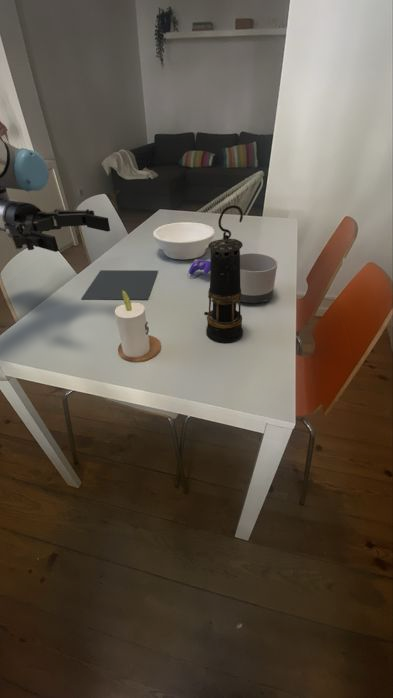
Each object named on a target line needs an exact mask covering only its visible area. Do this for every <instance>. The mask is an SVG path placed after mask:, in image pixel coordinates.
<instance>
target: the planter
mask: <svg viewBox="0 0 393 698" xmlns="http://www.w3.org/2000/svg"><path fill="white" fill-rule="evenodd" d="M277 269H278V261H277V260H276V258H274V257H272V256H270V255H267V254H263V253H257V252H256V253H255V252H250V253H249V252H248V253H247V252H245V253H240V288H241V299H240V302H242V303H247V304H258V303H263V302H267V301H268V300H270V299H271V298H272V297H273V295H274V290H275V282H276V278H277Z"/></svg>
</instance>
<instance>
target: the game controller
mask: <svg viewBox="0 0 393 698" xmlns="http://www.w3.org/2000/svg"><path fill="white" fill-rule="evenodd" d="M210 266H211V258H207V259H206V258H205V259H198V258H195V259H194V261H193V262H192V264H191V265H190V267H189V269H188V271H187V273H188V275H194V274H195V273H196V272H197V271H203V273H201V274H200V275H198V276H196V277H193V278H192V280H194V279H196V278H199V277H200V276H202V275H208V274H210ZM187 278H188V279H189V280H191V278H190V277H189V276H187Z"/></svg>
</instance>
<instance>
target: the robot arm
mask: <svg viewBox="0 0 393 698" xmlns="http://www.w3.org/2000/svg"><path fill="white" fill-rule="evenodd" d="M49 176H50V175H49V167H48V165H47V163H46V161H45V159H44V158H43V156H42V155H41V154H40V153H39V152H37V151H35V150H32V149H28V148H23V147H22V148H19V147H16V146H15V145H12V144H11V143H8V142H6V141H5V140H3V139H0V231H2V232H5V233H6V234H7V237H8V238H11V239H12V241H13V243H14V246H15V248H16V249H17V250H21V249H23V247H24V246H26V248H27V251H33V250H35V247H36V248H41V249H44V250H48V251H50V252H55V253H57V252H59V251H60V249H59V246H58V243H57V239H56V236H55V235H50V234H48V233H47V234H46V233H43V232H50V231H53V230H54V231H55V230H61V229H62V228H64V227H65V228H68V227H82V226H85V227H87V228H89V229H95V230H98V231H104V232H107V233H108V232H110V231H111V228H110V227H111V226H110V221H109V217H105V216H101V215H96V214H95V211H94V210H92V209H88V208H86V210H85V209H84V210H80V209H79V210H75V209H74V210H73V209H72V210H71V209H69V210H67V209H53V211H52V212H51V211H50V212H48V211H42V210H41V209H40V208H39V207H38V206H37V205H35V204H33V203H31V202H27V201H20V200H17V199H11V198H10V196H9V194H8V191H7V189H13V190H18V191H19V190H20V191H25V192H31V191H33V192H37V191H38V192H39V191H41V190H43V189H44V188H46V186H47V184H48V182H49ZM55 224H56V225H55Z"/></svg>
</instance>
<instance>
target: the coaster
mask: <svg viewBox="0 0 393 698" xmlns="http://www.w3.org/2000/svg"><path fill="white" fill-rule="evenodd" d="M148 336H149V343H150V350H149V352H148V353H147V354H145V355H144V356H141V357H136V358H132V357H128V356H126V355H125V354H124V353H123V349H122V345H121V343H120V344H119V345H118V347H117V352H118V355H119V357H120V358H121V359H123V360H124V361H127V362H130V363H143V362H147V361H150V360H152V359H153V358H155V357H156V356H157V355H159V354H160V352H161V349H162V344H161V342H160V340H159V339H158V338H157V337H155V336H153V335H149V334H148Z"/></svg>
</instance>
